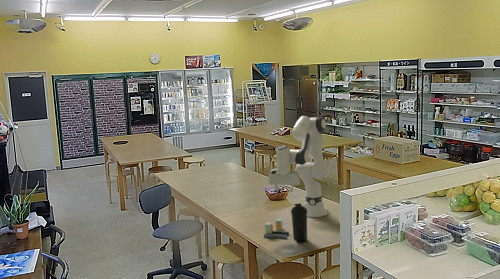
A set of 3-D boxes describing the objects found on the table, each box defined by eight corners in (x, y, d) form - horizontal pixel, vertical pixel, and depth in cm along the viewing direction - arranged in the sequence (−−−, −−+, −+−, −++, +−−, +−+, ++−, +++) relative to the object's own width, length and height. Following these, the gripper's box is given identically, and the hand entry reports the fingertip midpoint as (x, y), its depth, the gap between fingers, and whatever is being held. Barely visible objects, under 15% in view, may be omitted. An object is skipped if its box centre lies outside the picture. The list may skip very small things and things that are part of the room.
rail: (267, 234, 288) (267, 229, 288) (289, 235, 283) (289, 230, 283) (263, 239, 279) (263, 235, 278) (286, 241, 274) (285, 236, 273)
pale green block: (277, 230, 294) (276, 218, 293) (282, 230, 293) (282, 219, 291) (276, 232, 290) (275, 221, 289) (281, 232, 289) (280, 221, 288)
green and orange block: (265, 236, 281) (265, 224, 280) (267, 234, 285) (266, 222, 283) (271, 236, 280) (271, 224, 279) (273, 234, 283) (272, 222, 282)
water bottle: (305, 236, 280) (304, 202, 276) (310, 242, 270) (309, 206, 266) (290, 238, 278) (288, 203, 275) (294, 244, 268) (293, 208, 265)
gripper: (300, 170, 285) (300, 190, 287) (270, 169, 291) (270, 189, 293) (298, 172, 279) (298, 193, 281) (267, 171, 285) (268, 192, 287)
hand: (284, 191), depth 287 cm, fingers open, 8 cm apart
